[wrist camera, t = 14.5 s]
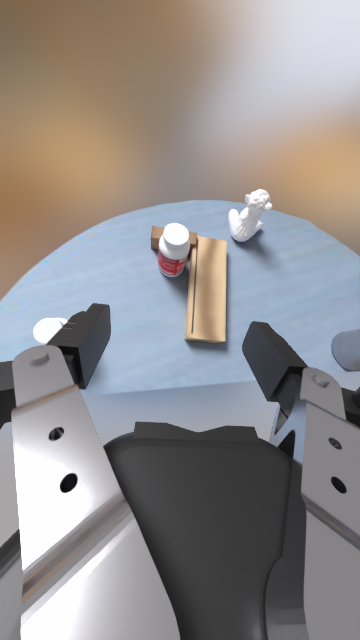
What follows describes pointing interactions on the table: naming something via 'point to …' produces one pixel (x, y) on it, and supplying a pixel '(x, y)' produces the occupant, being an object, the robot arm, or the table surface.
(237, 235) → the seated beast figurine
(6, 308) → the table surface
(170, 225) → the pill bottle
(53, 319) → the supplement bottle
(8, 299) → the table surface
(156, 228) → the wooden l-shaped block
